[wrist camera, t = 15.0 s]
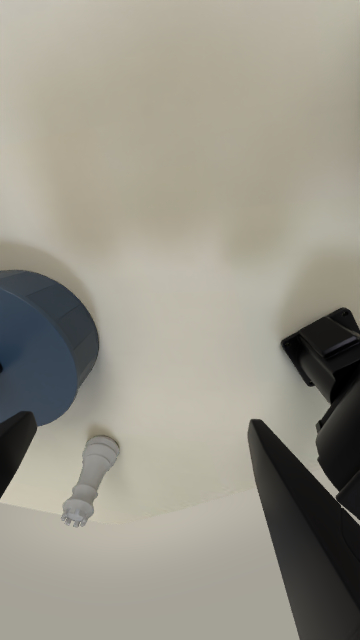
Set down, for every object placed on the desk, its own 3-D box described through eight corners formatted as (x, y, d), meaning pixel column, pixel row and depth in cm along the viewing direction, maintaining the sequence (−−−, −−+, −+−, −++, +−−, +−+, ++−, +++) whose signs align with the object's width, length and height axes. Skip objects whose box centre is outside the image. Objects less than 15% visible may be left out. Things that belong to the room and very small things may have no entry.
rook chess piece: (118, 459, 30) (94, 535, 22) (86, 453, 30) (51, 527, 22) (122, 437, 28) (97, 512, 21) (88, 430, 28) (51, 503, 21)
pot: (89, 272, 20) (58, 285, 15) (105, 389, 25) (86, 425, 20) (-52, 267, 20) (-123, 278, 16) (-7, 382, 26) (-51, 416, 21)
